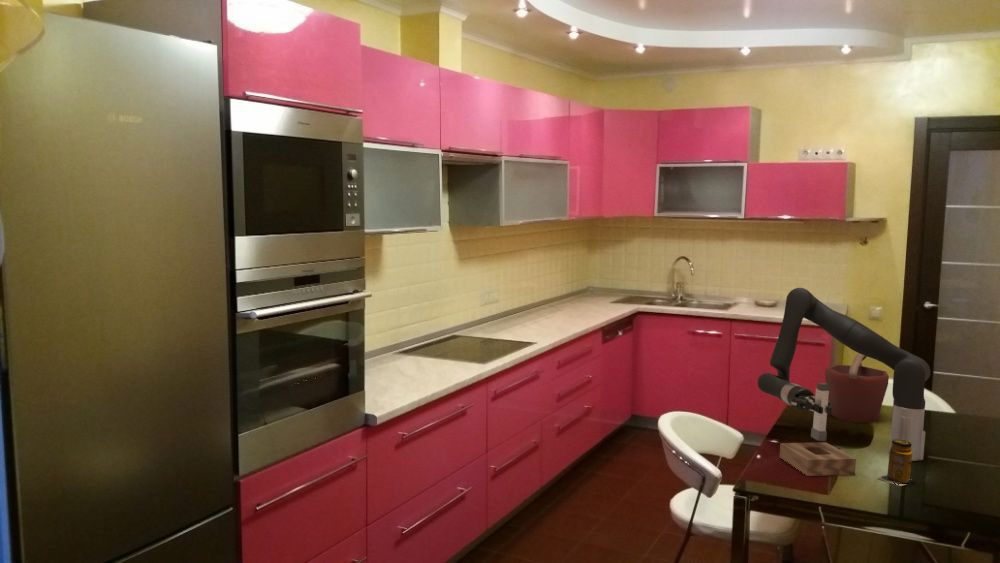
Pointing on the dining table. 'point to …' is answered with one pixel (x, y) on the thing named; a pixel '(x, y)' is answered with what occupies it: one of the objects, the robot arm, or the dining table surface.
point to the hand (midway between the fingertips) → (826, 410)
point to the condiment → (899, 462)
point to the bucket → (856, 391)
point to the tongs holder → (817, 459)
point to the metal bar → (820, 419)
